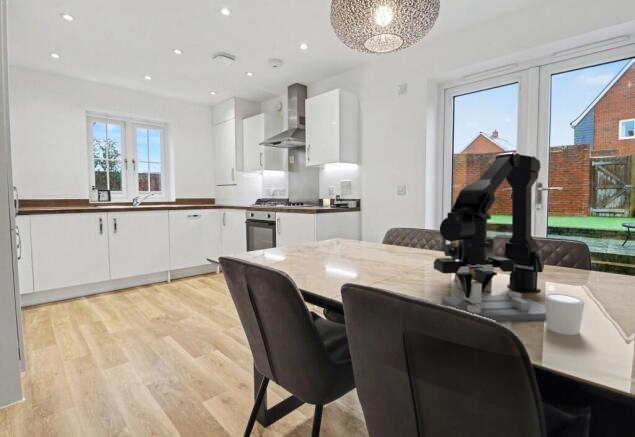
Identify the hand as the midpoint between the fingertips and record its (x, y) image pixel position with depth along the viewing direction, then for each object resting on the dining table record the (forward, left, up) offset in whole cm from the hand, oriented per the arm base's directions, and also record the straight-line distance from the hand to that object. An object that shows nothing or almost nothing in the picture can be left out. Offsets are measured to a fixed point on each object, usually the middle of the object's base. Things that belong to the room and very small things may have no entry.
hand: (472, 297), depth 85 cm
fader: (0, 0, -1) cm, 1 cm away
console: (-5, +3, -3) cm, 6 cm away
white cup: (-12, +15, -3) cm, 19 cm away
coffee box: (-10, -16, -3) cm, 19 cm away
